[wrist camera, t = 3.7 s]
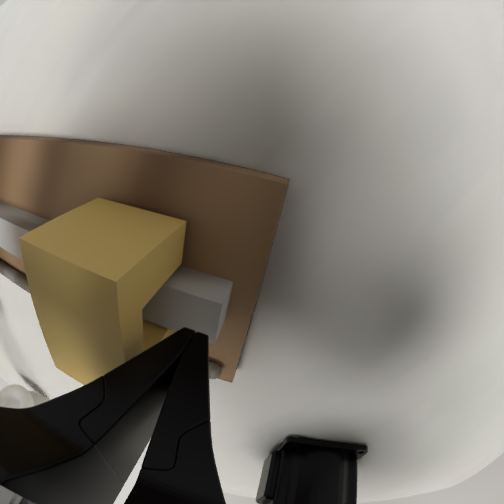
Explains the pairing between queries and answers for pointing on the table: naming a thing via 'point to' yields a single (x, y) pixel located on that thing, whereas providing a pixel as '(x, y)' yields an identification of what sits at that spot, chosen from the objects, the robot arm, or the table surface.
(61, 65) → the table surface
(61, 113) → the table surface
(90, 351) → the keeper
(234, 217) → the rail board
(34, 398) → the headset
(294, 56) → the table surface
